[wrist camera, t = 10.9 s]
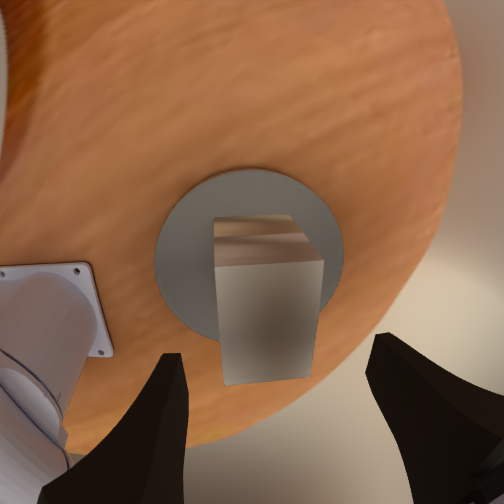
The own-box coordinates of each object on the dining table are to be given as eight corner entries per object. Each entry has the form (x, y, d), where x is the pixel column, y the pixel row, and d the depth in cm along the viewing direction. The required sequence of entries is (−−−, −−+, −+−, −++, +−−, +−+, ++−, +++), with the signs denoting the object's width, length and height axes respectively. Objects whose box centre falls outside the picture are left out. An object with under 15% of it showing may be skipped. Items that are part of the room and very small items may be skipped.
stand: (172, 326, 22) (168, 348, 20) (152, 170, 18) (143, 177, 15) (322, 315, 23) (332, 336, 21) (334, 165, 19) (350, 171, 17)
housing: (219, 313, 19) (224, 385, 14) (213, 217, 17) (214, 266, 11) (285, 308, 19) (310, 376, 14) (288, 213, 17) (323, 260, 12)
